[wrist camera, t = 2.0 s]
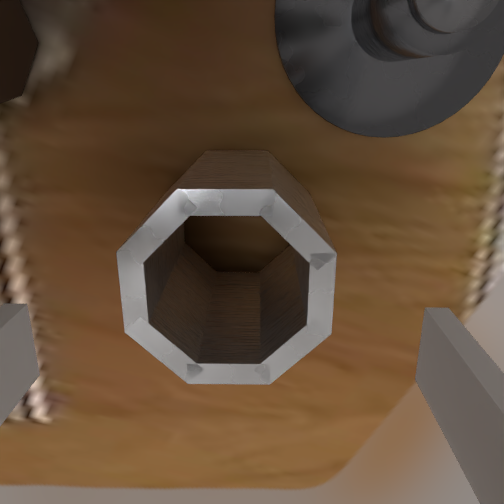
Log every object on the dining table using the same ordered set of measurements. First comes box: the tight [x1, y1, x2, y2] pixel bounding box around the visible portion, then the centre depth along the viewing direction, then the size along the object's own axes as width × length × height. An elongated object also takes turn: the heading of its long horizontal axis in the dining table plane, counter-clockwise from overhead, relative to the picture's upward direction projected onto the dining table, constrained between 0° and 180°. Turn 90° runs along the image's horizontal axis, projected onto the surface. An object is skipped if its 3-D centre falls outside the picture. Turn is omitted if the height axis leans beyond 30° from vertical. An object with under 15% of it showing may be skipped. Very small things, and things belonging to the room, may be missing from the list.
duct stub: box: [275, 0, 504, 137], centre depth 20 cm, size 12×12×9 cm
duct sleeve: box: [116, 150, 337, 384], centre depth 23 cm, size 8×8×10 cm
